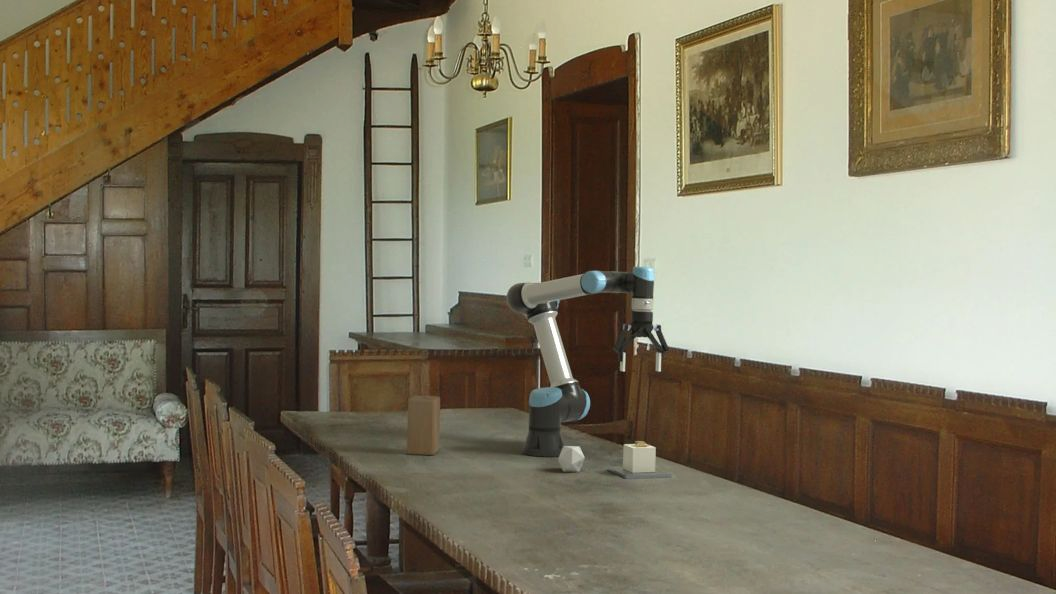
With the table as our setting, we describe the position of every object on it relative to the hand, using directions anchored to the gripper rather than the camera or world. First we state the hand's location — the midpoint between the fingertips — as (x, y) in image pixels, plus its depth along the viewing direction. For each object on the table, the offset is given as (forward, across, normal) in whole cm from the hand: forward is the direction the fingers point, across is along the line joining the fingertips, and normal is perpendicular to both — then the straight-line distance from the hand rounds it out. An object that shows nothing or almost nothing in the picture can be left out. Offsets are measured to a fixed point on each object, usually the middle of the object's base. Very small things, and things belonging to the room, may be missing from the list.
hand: (640, 371), depth 386 cm
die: (+32, -30, -14) cm, 46 cm away
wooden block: (+32, -71, +27) cm, 82 cm away
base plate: (+32, -9, -22) cm, 40 cm away
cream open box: (+31, -9, -22) cm, 39 cm away
